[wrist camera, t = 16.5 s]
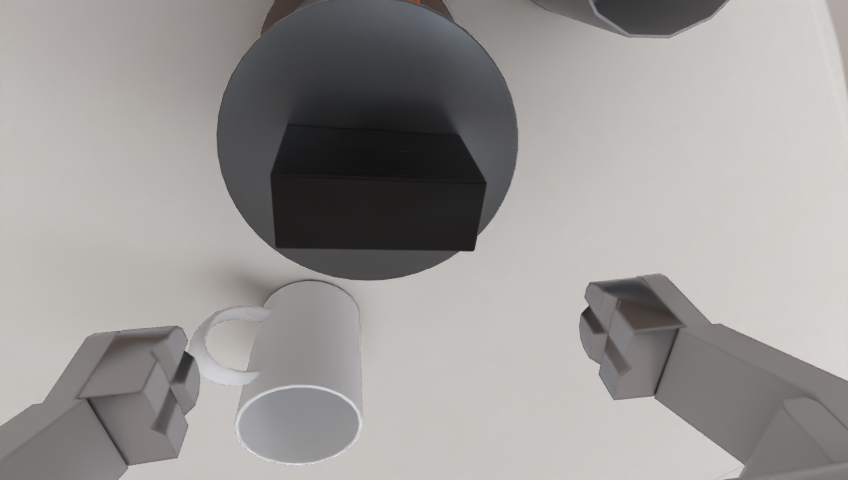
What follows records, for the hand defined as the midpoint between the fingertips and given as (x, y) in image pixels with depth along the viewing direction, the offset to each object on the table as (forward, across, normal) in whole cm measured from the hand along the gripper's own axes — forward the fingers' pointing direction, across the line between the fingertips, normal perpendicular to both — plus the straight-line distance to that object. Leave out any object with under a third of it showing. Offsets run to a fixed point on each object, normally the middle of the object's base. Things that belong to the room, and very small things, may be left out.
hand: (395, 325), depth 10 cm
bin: (+21, 0, 0) cm, 21 cm away
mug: (+23, +8, +18) cm, 30 cm away
